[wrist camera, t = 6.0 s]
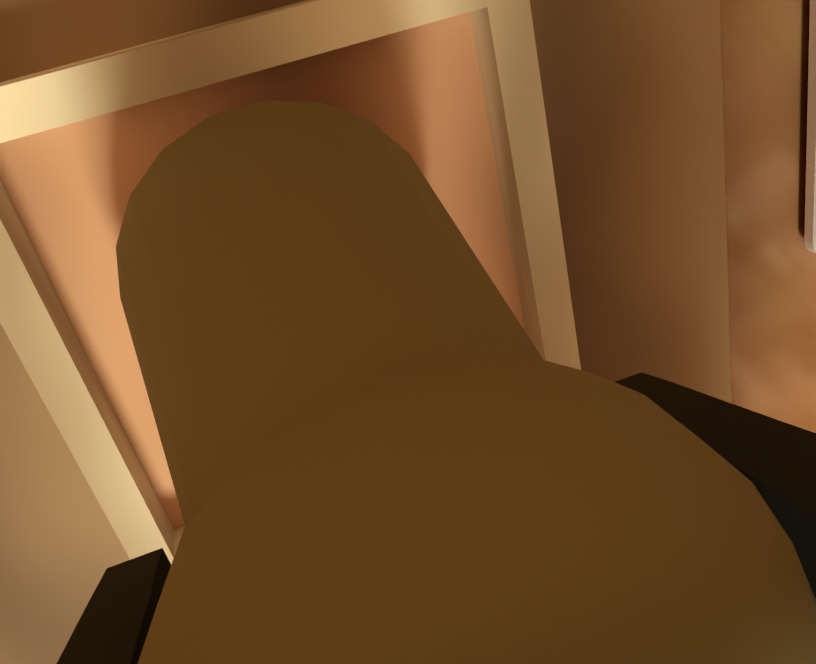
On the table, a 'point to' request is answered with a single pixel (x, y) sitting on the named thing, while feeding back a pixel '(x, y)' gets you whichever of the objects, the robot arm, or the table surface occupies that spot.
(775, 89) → the table surface
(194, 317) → the cork
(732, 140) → the table surface
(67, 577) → the coaster board
